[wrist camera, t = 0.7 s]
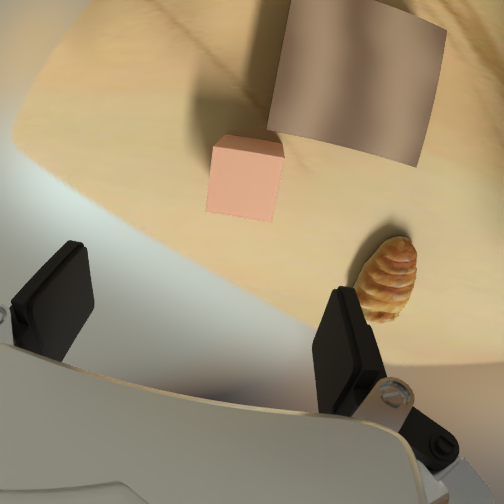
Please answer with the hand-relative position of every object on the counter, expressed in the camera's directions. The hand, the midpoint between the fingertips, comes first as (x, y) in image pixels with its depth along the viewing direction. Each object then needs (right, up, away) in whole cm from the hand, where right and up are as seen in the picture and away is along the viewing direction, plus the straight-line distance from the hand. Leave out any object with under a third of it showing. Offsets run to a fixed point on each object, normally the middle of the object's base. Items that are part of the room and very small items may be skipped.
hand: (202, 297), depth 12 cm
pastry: (+16, -1, +22) cm, 27 cm away
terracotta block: (+2, +9, +17) cm, 19 cm away
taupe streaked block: (+10, +17, +12) cm, 23 cm away
